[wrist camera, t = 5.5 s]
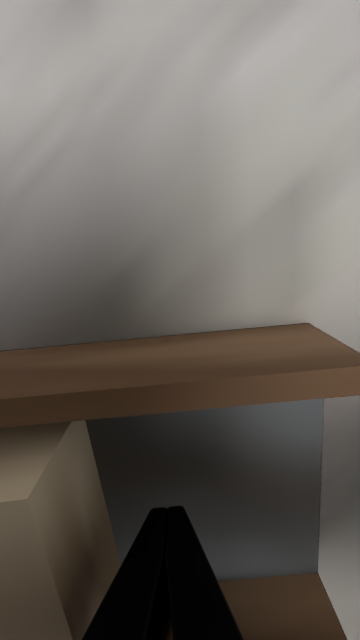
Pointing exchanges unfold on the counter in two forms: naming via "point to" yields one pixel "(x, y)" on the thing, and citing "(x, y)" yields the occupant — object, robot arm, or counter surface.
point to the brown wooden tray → (208, 450)
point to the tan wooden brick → (52, 533)
